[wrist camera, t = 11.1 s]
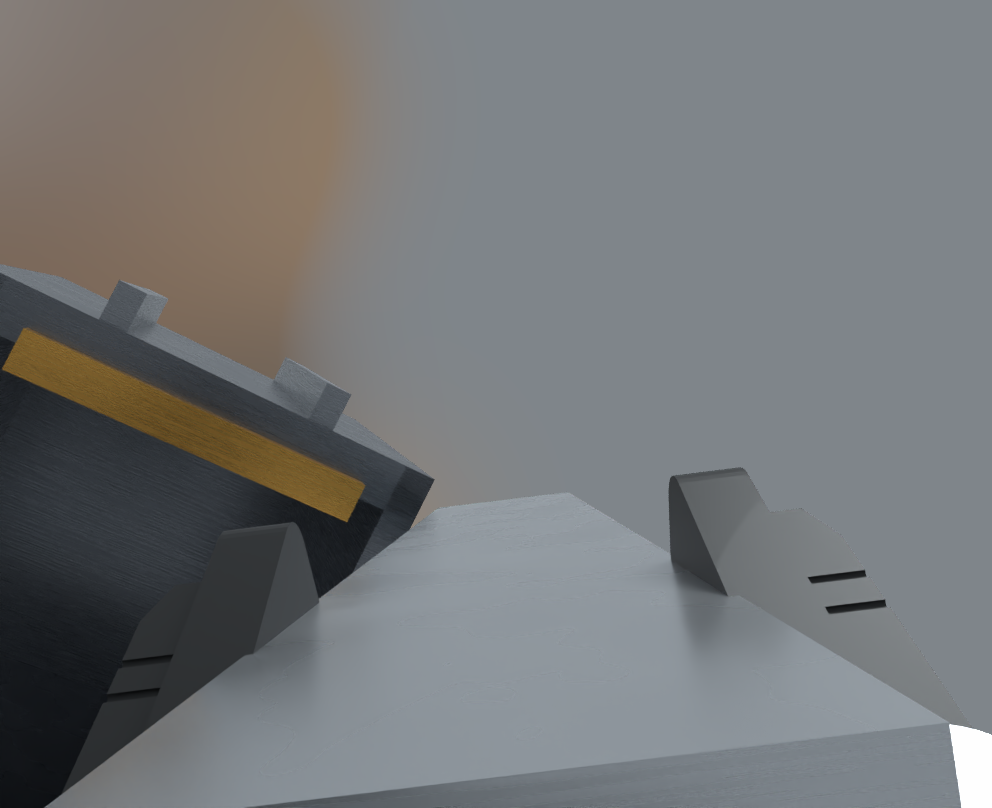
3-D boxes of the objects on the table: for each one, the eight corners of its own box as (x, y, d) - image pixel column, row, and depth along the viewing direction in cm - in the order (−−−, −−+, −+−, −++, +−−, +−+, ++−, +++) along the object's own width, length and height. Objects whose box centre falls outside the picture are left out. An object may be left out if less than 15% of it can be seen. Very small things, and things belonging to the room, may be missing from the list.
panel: (1042, 1345, 4) (948, 720, 4) (63, 1460, 4) (5, 837, 4) (578, 573, 28) (567, 492, 28) (448, 589, 28) (438, 508, 28)
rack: (-66, 1491, 26) (456, 447, 27) (-681, 1456, 21) (-16, 214, 23) (37, 1043, 42) (365, 396, 43) (-305, 969, 37) (74, 252, 39)
